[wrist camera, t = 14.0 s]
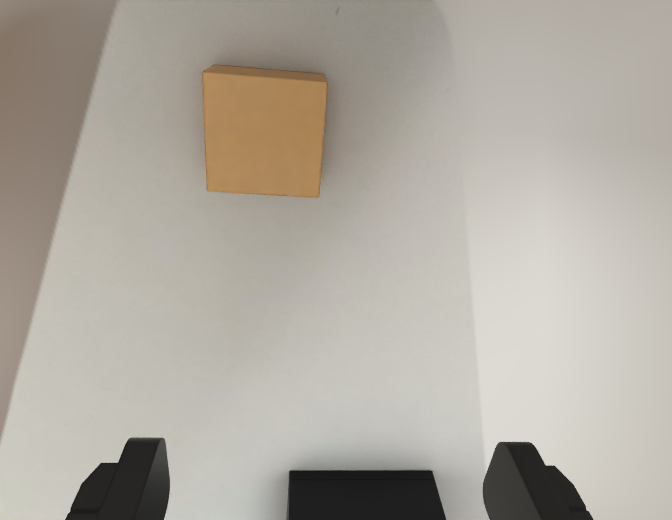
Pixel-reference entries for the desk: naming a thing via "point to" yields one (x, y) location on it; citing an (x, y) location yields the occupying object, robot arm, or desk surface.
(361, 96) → the desk surface
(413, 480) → the black hinged lid box
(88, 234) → the desk surface
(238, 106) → the tan square block
